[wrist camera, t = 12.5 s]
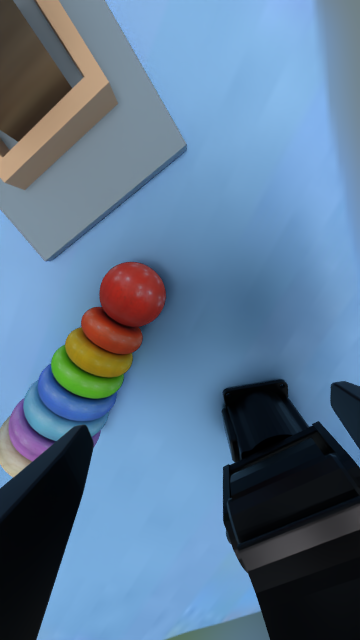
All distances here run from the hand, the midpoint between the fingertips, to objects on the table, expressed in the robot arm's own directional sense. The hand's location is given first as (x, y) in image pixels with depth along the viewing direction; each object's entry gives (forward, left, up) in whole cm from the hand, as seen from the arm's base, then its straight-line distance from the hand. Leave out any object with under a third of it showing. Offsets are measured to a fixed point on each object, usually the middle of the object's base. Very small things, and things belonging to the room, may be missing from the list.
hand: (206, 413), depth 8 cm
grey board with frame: (+8, -18, -13) cm, 24 cm away
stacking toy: (+15, +9, -9) cm, 20 cm away
